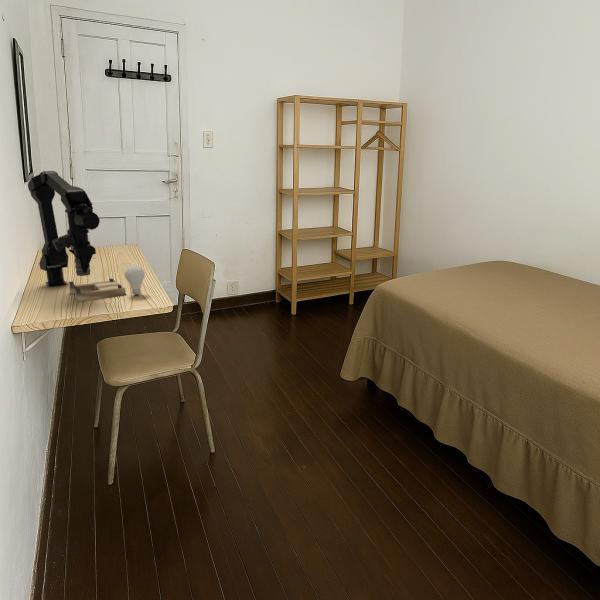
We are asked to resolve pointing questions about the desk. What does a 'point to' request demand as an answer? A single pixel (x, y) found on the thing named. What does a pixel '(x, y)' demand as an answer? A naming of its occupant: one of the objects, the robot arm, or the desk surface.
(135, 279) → the light bulb
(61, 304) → the desk surface
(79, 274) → the stacked grey discs
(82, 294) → the wooden handle frame
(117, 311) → the desk surface
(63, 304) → the desk surface
